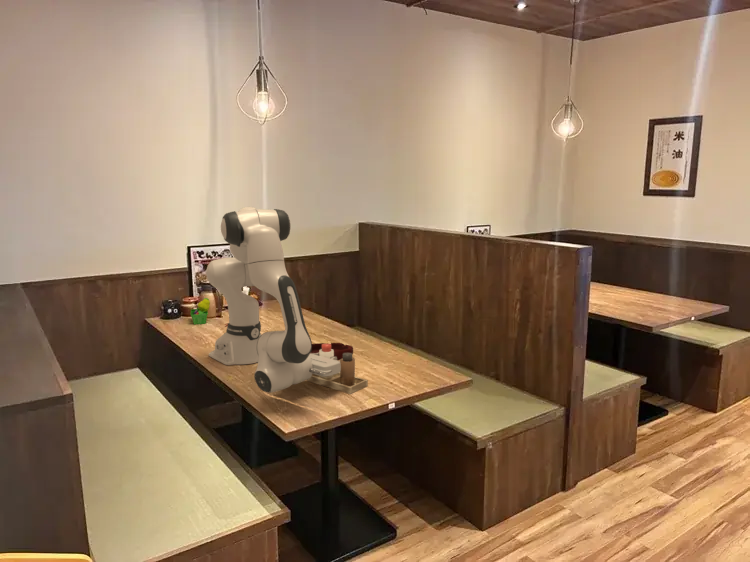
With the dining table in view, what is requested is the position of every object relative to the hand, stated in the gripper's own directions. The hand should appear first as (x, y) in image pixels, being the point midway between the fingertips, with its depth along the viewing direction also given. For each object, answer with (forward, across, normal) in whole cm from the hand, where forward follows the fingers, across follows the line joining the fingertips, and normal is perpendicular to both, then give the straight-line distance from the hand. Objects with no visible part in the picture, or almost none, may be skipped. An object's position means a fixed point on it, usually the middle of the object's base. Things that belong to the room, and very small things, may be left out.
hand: (328, 356), depth 194 cm
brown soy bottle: (-1, -9, +8) cm, 12 cm away
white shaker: (-1, 0, +6) cm, 7 cm away
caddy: (-1, -4, +9) cm, 10 cm away
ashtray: (+17, +16, +10) cm, 26 cm away
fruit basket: (+22, +99, +9) cm, 102 cm away
